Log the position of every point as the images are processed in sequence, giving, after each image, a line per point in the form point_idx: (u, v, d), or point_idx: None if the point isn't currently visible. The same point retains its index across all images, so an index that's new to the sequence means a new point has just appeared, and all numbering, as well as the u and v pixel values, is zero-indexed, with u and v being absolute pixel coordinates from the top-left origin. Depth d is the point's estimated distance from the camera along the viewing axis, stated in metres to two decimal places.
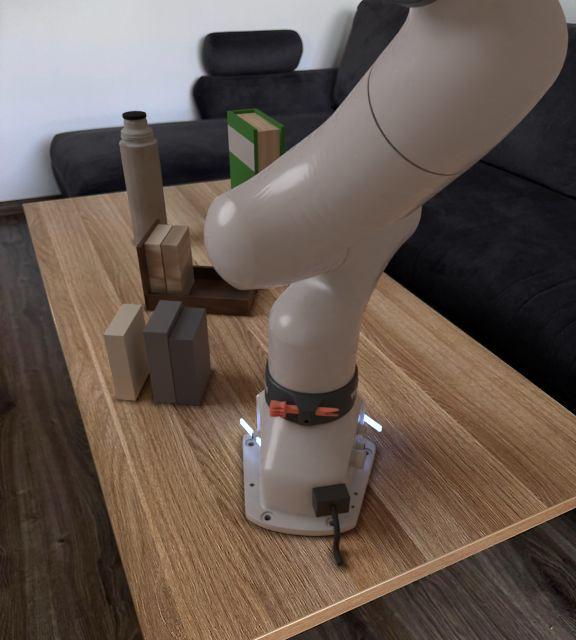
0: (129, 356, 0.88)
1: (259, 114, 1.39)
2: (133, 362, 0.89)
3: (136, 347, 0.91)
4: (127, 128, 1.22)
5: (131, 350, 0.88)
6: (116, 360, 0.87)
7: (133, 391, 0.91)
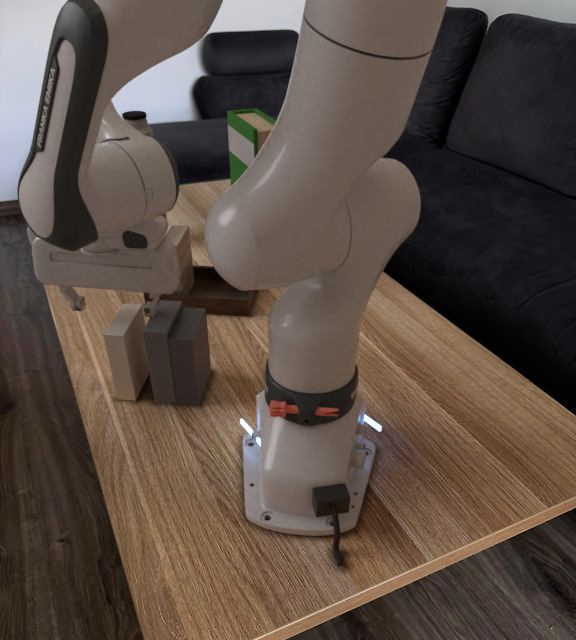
0: (129, 356, 0.88)
1: (259, 114, 1.39)
2: (133, 362, 0.89)
3: (136, 347, 0.91)
4: None
5: (131, 350, 0.88)
6: (116, 360, 0.87)
7: (133, 391, 0.91)
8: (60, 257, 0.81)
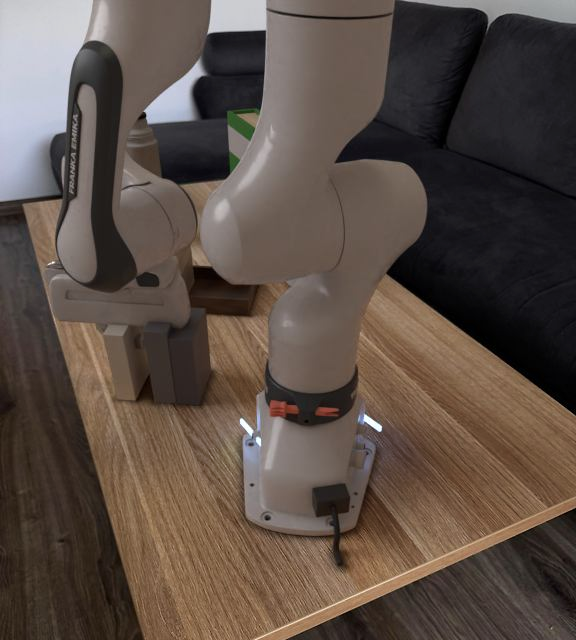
0: (129, 355, 0.88)
1: (259, 114, 1.39)
2: (132, 362, 0.89)
3: None
4: None
5: (131, 350, 0.88)
6: (116, 360, 0.87)
7: (133, 391, 0.91)
8: (75, 296, 0.85)
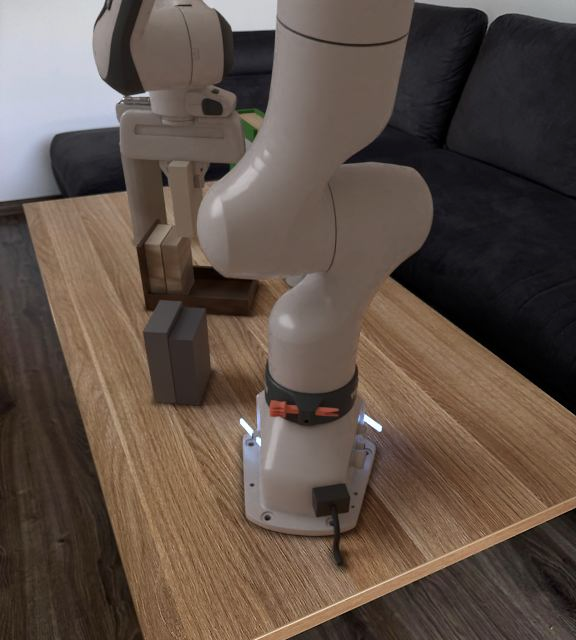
0: (190, 190, 0.97)
1: (259, 114, 1.39)
2: (192, 198, 0.98)
3: (194, 187, 0.99)
4: None
5: (191, 186, 0.97)
6: (178, 193, 0.96)
7: (192, 227, 1.00)
8: (143, 130, 0.94)
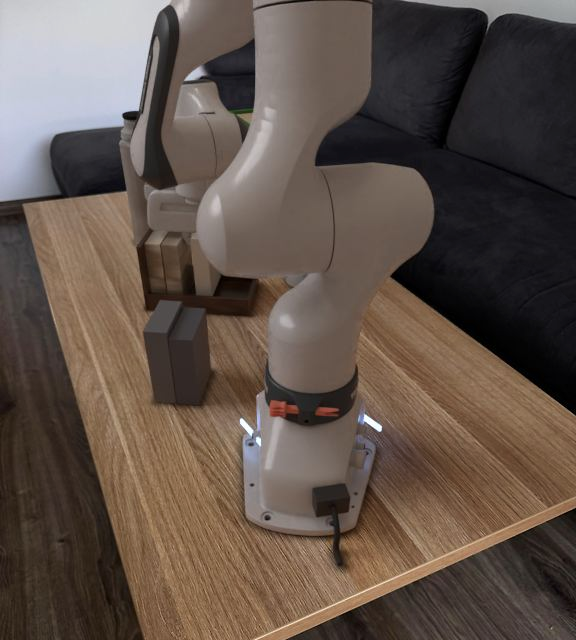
0: None
1: None
2: None
3: None
4: (127, 128, 1.22)
5: None
6: (199, 261, 1.08)
7: (210, 289, 1.12)
8: (168, 208, 1.06)
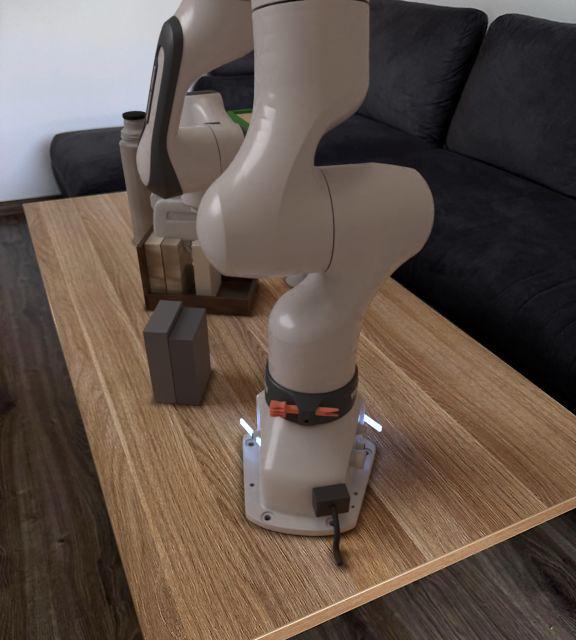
0: (210, 265, 1.10)
1: None
2: (212, 271, 1.11)
3: None
4: (127, 128, 1.22)
5: None
6: (200, 268, 1.09)
7: None
8: (174, 216, 1.07)
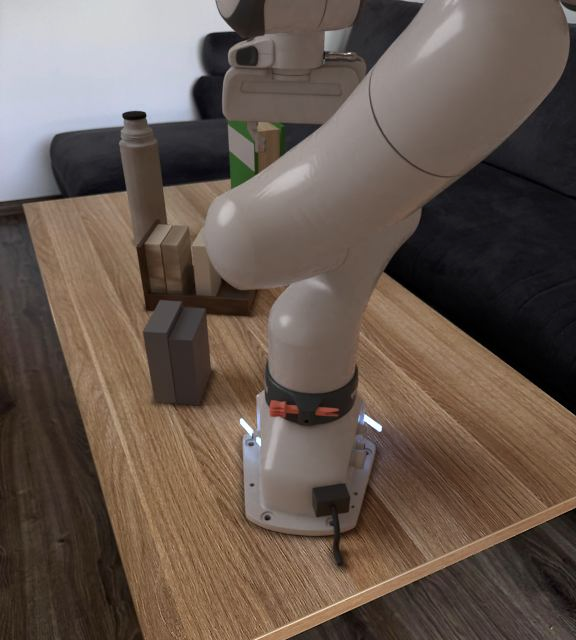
0: (210, 265, 1.10)
1: None
2: (212, 271, 1.11)
3: None
4: (127, 128, 1.22)
5: None
6: (200, 268, 1.09)
7: None
8: None
